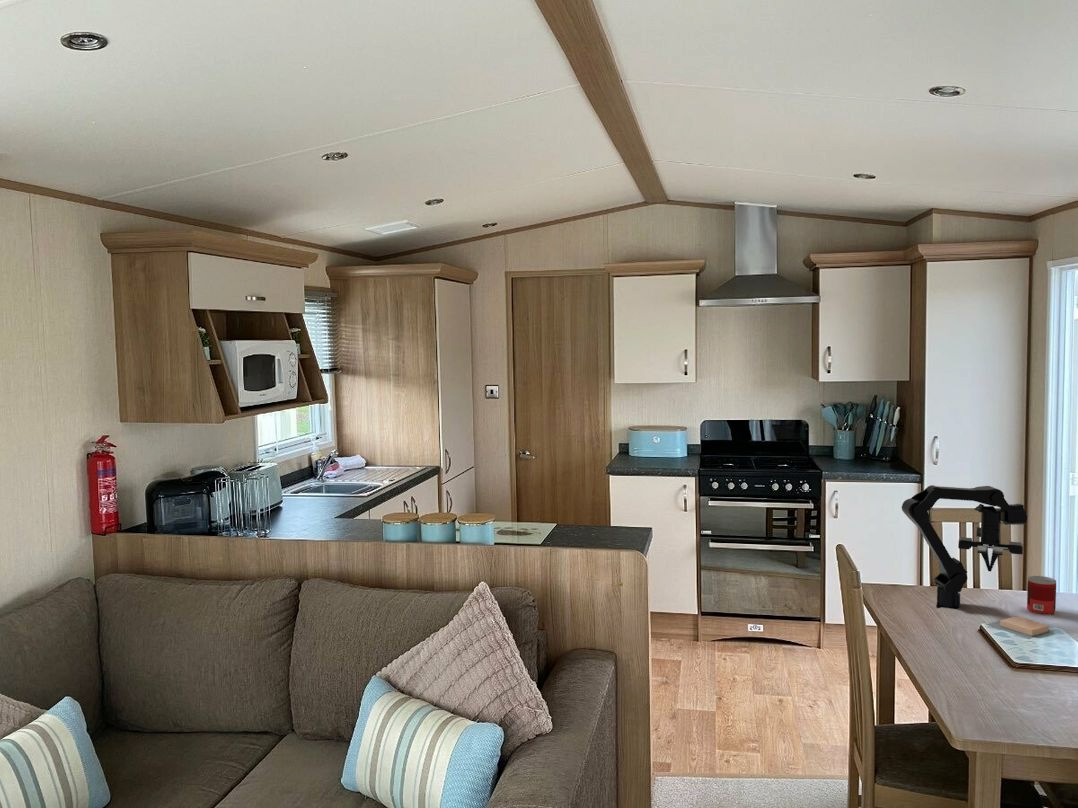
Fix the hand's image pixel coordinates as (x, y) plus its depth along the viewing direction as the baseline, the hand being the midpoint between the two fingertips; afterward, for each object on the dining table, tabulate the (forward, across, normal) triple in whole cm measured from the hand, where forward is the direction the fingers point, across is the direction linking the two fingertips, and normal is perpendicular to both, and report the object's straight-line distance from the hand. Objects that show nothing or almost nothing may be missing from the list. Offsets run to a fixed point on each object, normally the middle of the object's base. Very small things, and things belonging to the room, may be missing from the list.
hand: (989, 571), depth 279 cm
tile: (+10, -6, +18) cm, 22 cm away
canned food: (+12, -15, -1) cm, 19 cm away
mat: (+12, -9, +20) cm, 25 cm away
